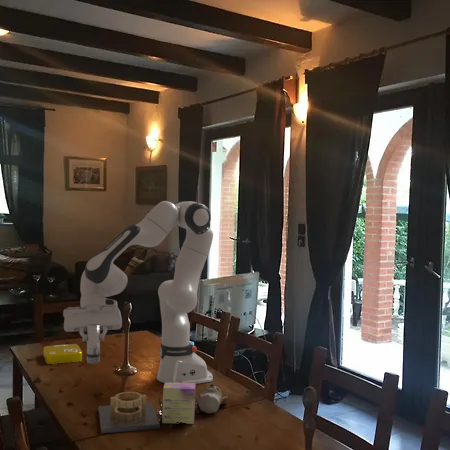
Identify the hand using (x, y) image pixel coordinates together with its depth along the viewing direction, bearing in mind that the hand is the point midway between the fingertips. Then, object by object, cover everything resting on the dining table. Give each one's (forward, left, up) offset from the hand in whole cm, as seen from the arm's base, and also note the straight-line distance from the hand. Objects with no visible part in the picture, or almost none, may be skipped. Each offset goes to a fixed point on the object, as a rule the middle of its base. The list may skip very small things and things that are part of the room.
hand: (93, 339), depth 187 cm
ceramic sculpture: (-40, +13, -22) cm, 48 cm away
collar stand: (-11, +17, -22) cm, 30 cm away
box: (-27, +21, -22) cm, 41 cm away
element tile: (+11, -53, -23) cm, 59 cm away
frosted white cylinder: (0, -1, -8) cm, 8 cm away
